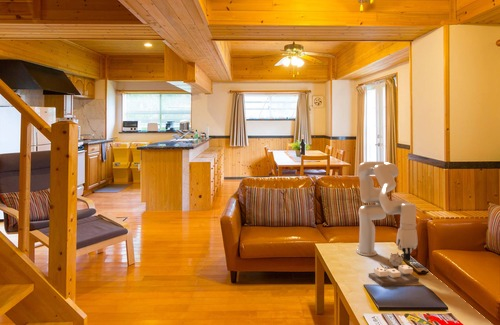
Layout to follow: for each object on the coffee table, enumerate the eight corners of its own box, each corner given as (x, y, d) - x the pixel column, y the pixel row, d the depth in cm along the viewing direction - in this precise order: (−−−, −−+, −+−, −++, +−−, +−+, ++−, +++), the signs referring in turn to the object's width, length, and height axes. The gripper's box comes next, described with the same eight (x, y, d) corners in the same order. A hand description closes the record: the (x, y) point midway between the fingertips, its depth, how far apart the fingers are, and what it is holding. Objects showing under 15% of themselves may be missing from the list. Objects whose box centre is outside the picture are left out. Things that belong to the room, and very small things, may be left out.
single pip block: (386, 273, 182) (386, 269, 182) (394, 272, 183) (394, 268, 183) (392, 277, 177) (392, 272, 177) (400, 276, 178) (400, 271, 178)
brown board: (368, 277, 184) (368, 273, 184) (403, 273, 189) (403, 269, 189) (382, 286, 172) (382, 283, 172) (418, 282, 177) (418, 278, 177)
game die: (398, 273, 197) (407, 264, 190) (384, 267, 198) (392, 258, 192) (399, 261, 204) (407, 252, 197) (385, 256, 205) (393, 246, 198)
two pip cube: (398, 270, 184) (398, 265, 184) (406, 269, 185) (406, 264, 185) (404, 273, 179) (404, 268, 179) (412, 272, 180) (412, 268, 180)
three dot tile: (374, 272, 180) (374, 267, 180) (382, 271, 181) (382, 267, 181) (379, 276, 175) (380, 271, 175) (388, 275, 177) (388, 270, 176)
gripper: (414, 223, 185) (413, 256, 186) (391, 225, 181) (390, 258, 183) (424, 227, 178) (423, 261, 179) (400, 229, 174) (399, 263, 175)
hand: (406, 259), depth 181 cm, fingers closed
